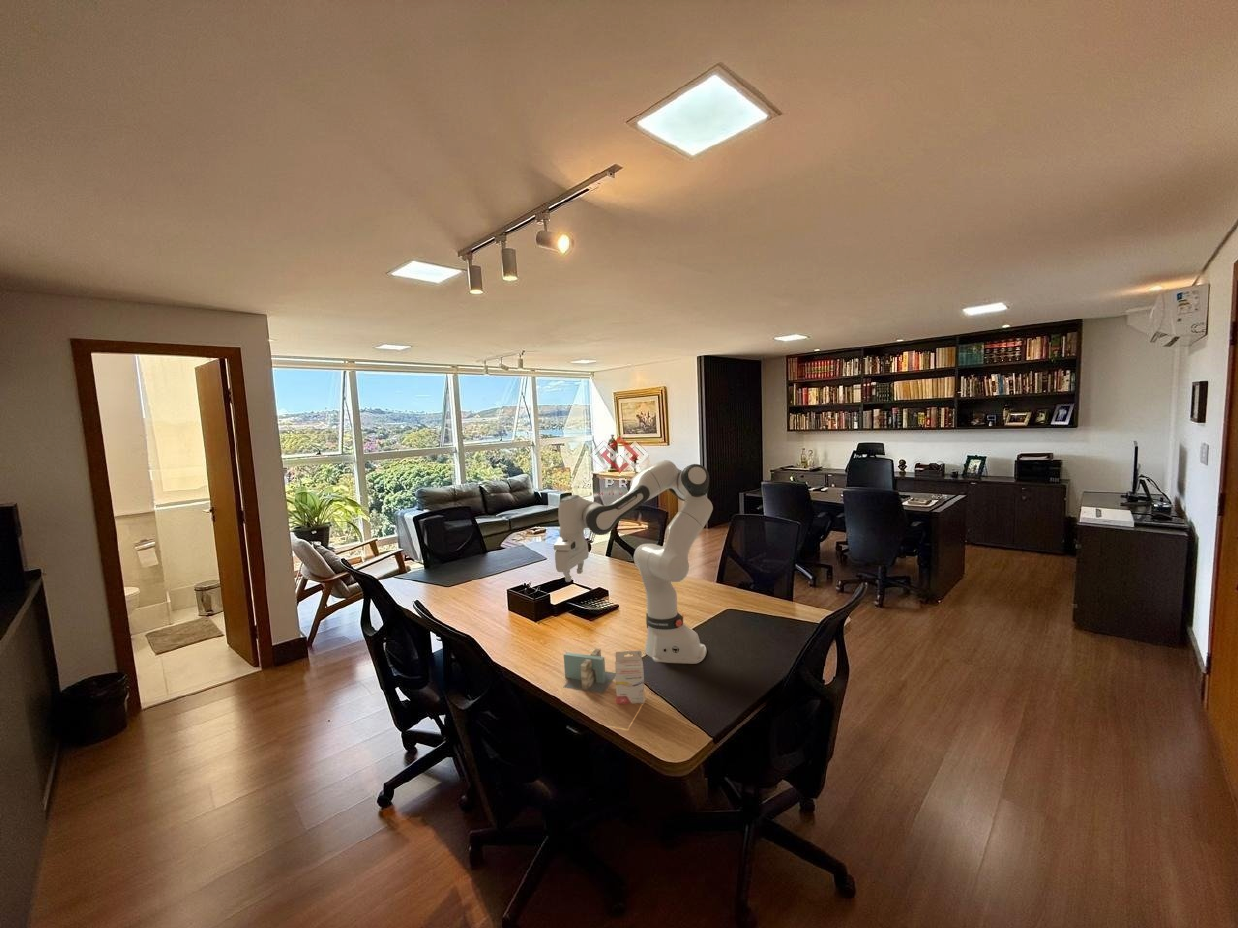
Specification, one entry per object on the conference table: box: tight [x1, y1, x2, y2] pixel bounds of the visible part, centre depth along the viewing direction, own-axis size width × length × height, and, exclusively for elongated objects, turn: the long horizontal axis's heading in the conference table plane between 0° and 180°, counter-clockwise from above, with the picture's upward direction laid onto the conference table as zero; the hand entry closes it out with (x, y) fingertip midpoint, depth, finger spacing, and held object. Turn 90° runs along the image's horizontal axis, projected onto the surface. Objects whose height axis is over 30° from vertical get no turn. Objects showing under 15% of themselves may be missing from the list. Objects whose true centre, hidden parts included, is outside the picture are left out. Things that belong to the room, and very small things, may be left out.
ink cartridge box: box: [614, 650, 646, 705], centre depth 151 cm, size 9×5×15 cm, turn 92°
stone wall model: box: [581, 648, 602, 691], centre depth 163 cm, size 12×2×8 cm, turn 159°
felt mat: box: [563, 670, 616, 695], centre depth 164 cm, size 14×13×1 cm
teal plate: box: [563, 651, 606, 683], centre depth 164 cm, size 14×2×8 cm, turn 69°
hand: (574, 577), depth 181 cm, fingers open, 8 cm apart
